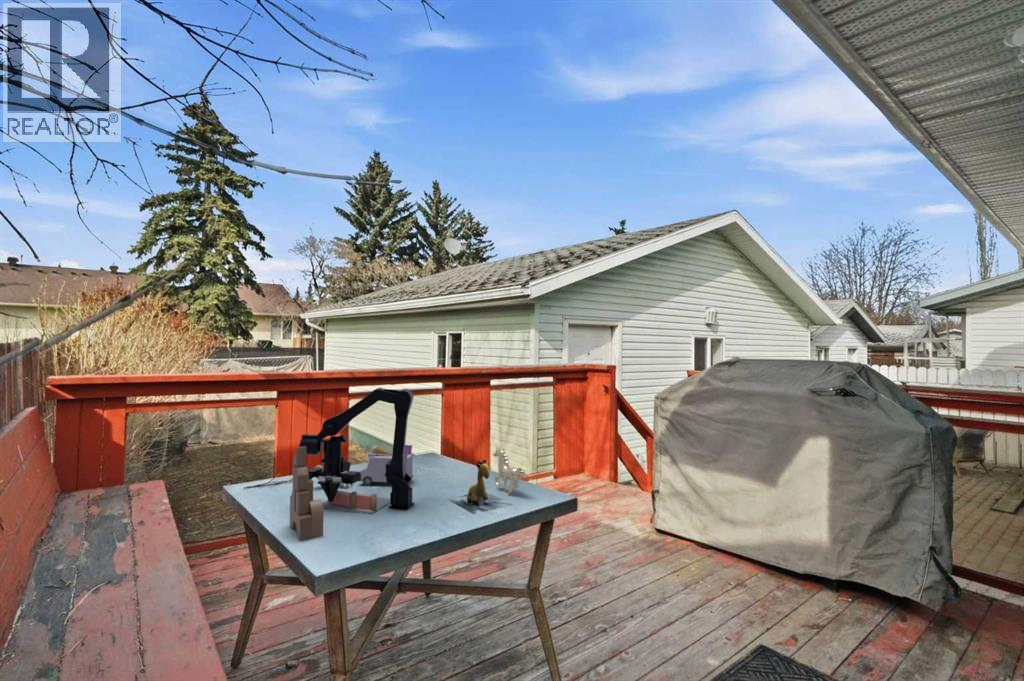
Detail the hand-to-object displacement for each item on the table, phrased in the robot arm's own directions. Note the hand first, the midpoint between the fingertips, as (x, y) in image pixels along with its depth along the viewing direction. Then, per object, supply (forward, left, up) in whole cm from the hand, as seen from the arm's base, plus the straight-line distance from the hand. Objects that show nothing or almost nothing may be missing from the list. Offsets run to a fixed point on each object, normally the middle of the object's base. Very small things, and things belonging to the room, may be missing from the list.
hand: (331, 501), depth 165 cm
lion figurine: (+13, -19, -2) cm, 23 cm away
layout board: (-6, -6, -2) cm, 9 cm away
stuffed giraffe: (-46, -20, -3) cm, 50 cm away
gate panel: (-2, -2, -1) cm, 3 cm away
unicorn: (-53, -33, -2) cm, 62 cm away
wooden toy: (-4, +19, -2) cm, 19 cm away
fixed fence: (-12, -1, -2) cm, 12 cm away
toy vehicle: (-4, -30, -2) cm, 30 cm away
